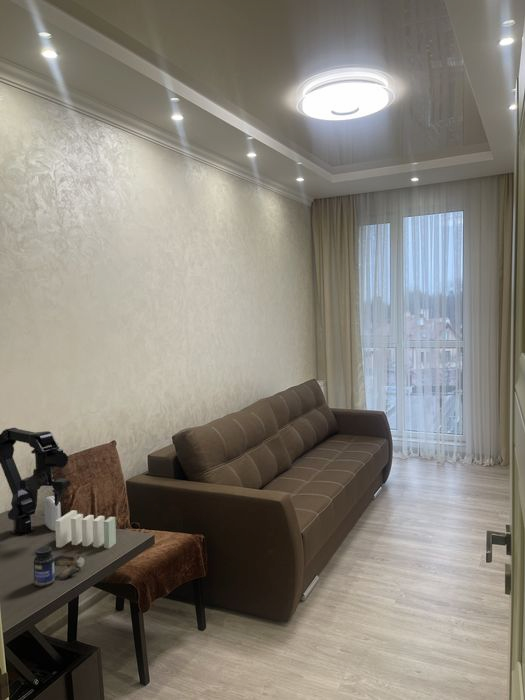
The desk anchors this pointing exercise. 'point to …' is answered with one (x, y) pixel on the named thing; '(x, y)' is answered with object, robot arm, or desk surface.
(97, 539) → the domino
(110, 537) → the domino
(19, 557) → the desk surface
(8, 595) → the desk surface
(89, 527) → the domino
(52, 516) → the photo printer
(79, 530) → the domino
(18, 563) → the desk surface
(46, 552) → the pill bottle
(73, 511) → the domino
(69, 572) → the eagle figurine
